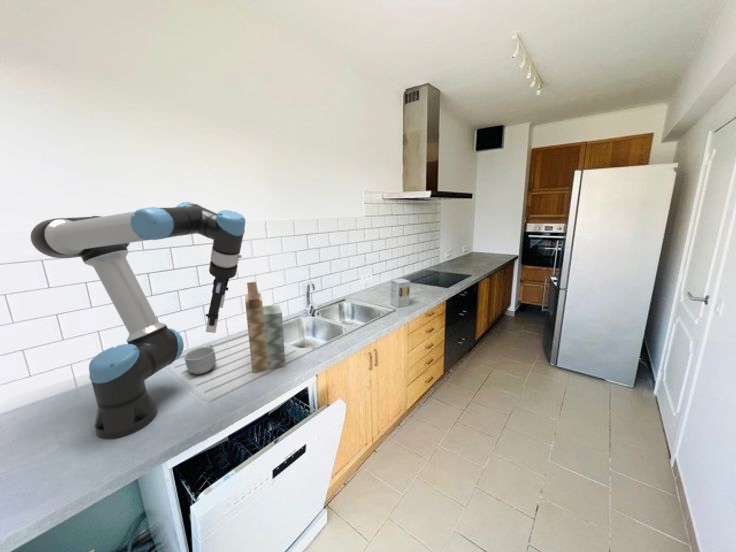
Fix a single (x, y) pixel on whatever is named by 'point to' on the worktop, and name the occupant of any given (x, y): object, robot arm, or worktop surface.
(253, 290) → the rail
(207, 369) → the teacup
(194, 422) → the worktop surface
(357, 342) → the worktop surface
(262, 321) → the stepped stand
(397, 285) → the supplement box
